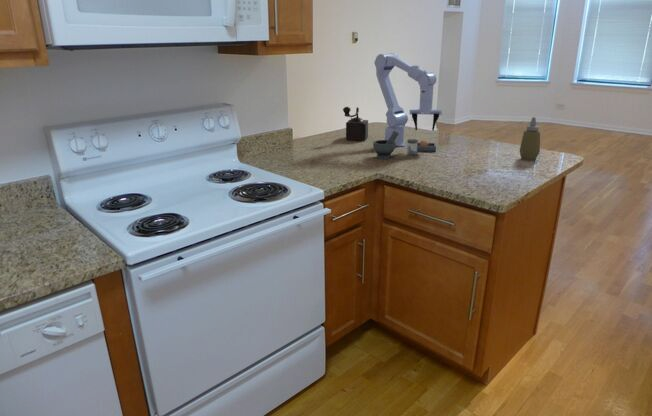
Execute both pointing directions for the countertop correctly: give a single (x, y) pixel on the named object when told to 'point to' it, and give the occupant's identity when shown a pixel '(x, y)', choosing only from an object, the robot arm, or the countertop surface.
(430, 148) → the dish
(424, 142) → the ball
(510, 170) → the countertop surface
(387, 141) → the mortar and pestle
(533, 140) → the squeeze bottle
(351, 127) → the manual coffee grinder
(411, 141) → the shaker
